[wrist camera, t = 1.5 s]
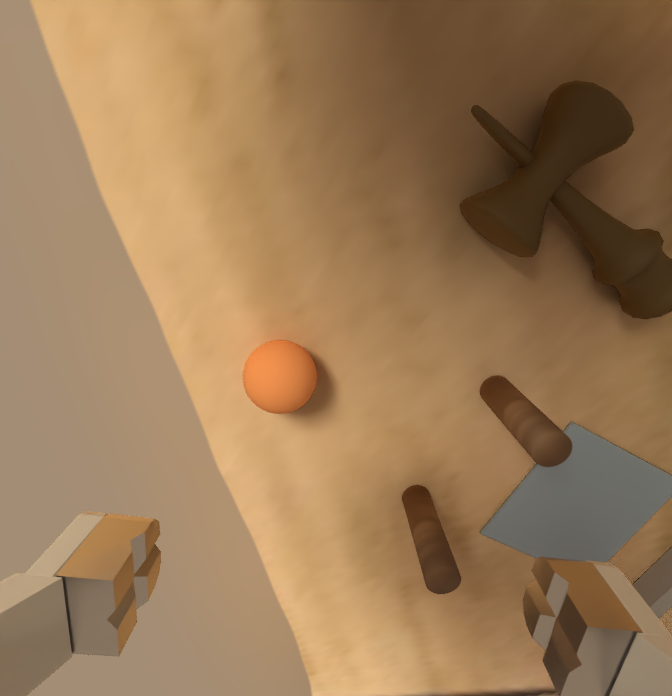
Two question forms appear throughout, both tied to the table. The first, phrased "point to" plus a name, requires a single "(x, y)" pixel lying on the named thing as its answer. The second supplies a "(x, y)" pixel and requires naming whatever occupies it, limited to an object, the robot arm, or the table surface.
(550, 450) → the post
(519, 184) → the kendama
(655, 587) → the wall
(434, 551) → the post
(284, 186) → the table surface
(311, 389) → the ball
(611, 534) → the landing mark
